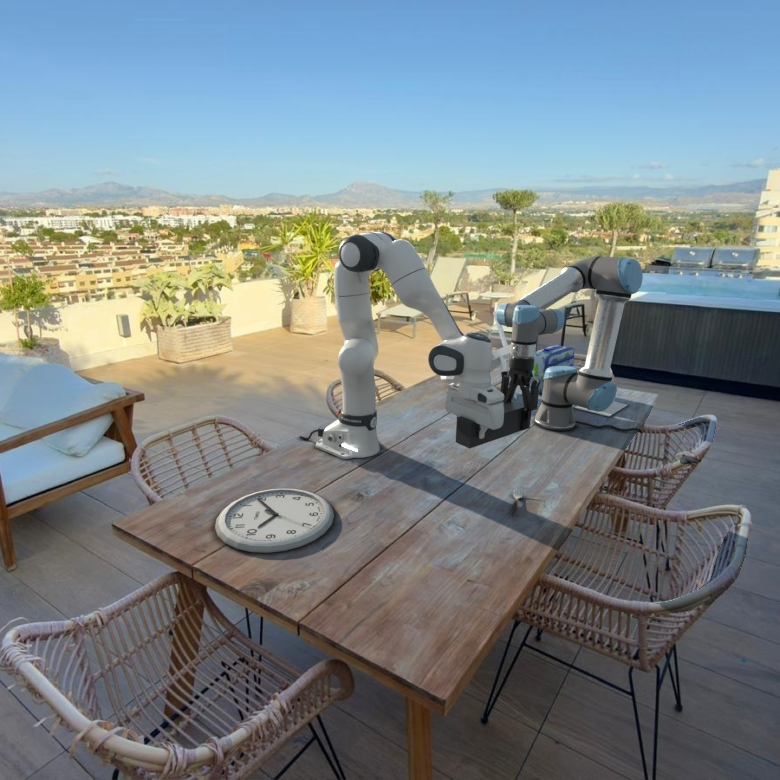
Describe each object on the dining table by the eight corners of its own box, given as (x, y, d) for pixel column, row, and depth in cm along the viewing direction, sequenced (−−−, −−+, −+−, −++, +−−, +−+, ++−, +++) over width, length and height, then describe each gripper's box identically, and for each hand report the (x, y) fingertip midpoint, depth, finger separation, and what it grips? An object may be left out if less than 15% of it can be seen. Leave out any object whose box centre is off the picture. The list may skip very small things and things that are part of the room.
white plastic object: (461, 429, 252) (437, 405, 227) (444, 352, 274) (420, 323, 250) (535, 404, 240) (518, 377, 215) (510, 326, 262) (492, 293, 237)
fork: (506, 517, 138) (507, 510, 138) (514, 490, 152) (515, 483, 152) (516, 518, 137) (517, 512, 137) (523, 491, 152) (524, 485, 151)
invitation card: (608, 416, 214) (573, 407, 224) (608, 416, 214) (573, 408, 224) (628, 404, 229) (594, 396, 238) (628, 405, 229) (594, 397, 238)
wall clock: (332, 544, 122) (200, 548, 120) (332, 550, 123) (201, 555, 120) (334, 484, 151) (228, 486, 148) (334, 489, 151) (228, 491, 149)
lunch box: (546, 398, 236) (551, 353, 229) (525, 393, 243) (529, 349, 237) (573, 387, 253) (579, 344, 247) (553, 382, 260) (558, 341, 254)
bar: (515, 422, 172) (517, 399, 170) (529, 428, 168) (532, 404, 166) (455, 442, 156) (456, 417, 153) (469, 448, 151) (471, 423, 149)
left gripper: (441, 382, 157) (439, 425, 161) (493, 400, 141) (490, 447, 145) (456, 379, 160) (454, 421, 165) (509, 396, 145) (505, 442, 149)
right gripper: (490, 351, 166) (485, 420, 173) (540, 364, 152) (532, 438, 159) (506, 348, 170) (500, 415, 177) (555, 360, 156) (547, 432, 163)
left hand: (471, 434), depth 155 cm, fingers closed on bar, 6 cm apart
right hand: (515, 426), depth 168 cm, fingers closed on bar, 6 cm apart
